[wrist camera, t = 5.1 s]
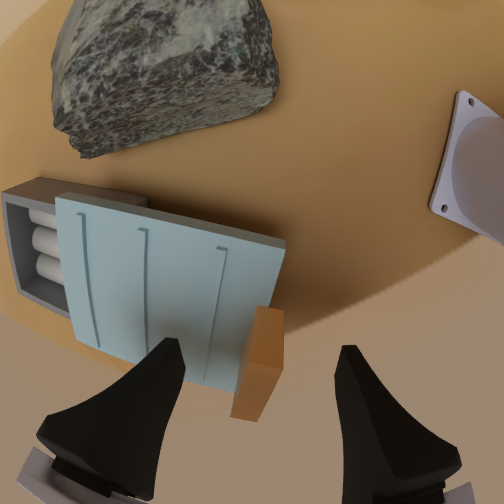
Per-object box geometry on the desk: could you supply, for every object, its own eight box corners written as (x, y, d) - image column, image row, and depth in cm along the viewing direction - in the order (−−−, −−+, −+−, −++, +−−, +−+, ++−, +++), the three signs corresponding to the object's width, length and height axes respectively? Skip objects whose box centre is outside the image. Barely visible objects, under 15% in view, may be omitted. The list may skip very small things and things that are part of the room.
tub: (148, 196, 15) (112, 218, 12) (144, 304, 19) (120, 340, 15) (38, 177, 15) (0, 192, 12) (47, 269, 19) (18, 293, 15)
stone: (52, 225, 5) (137, -113, 1) (41, 161, 11) (68, -6, 6) (303, 189, 12) (340, -12, 7) (183, 149, 17) (207, 15, 13)
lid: (301, 244, 12) (311, 306, 8) (252, 383, 16) (244, 444, 12) (67, 191, 11) (5, 221, 8) (83, 330, 16) (50, 374, 12)
